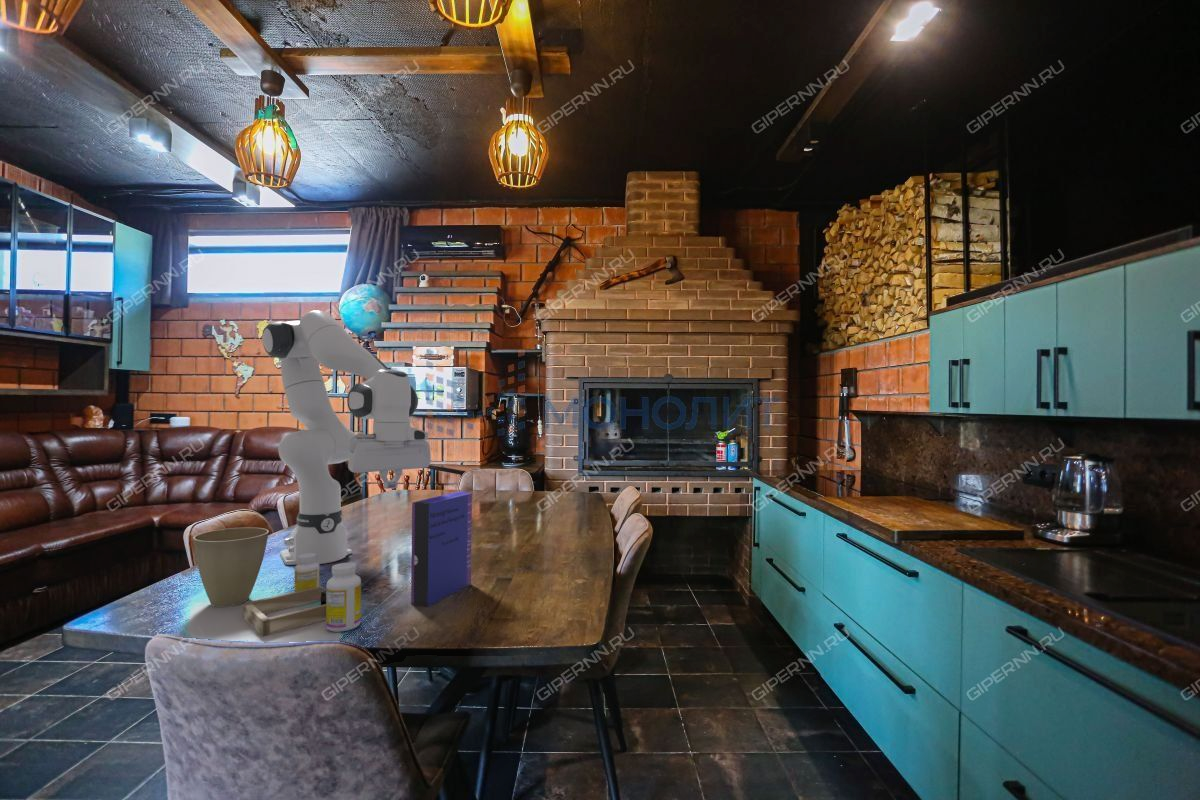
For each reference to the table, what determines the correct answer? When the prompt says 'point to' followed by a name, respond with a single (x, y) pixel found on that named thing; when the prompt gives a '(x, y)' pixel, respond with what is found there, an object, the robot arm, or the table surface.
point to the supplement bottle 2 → (343, 598)
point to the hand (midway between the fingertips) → (390, 488)
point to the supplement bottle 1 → (307, 572)
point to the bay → (279, 623)
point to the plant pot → (230, 562)
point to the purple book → (440, 547)
